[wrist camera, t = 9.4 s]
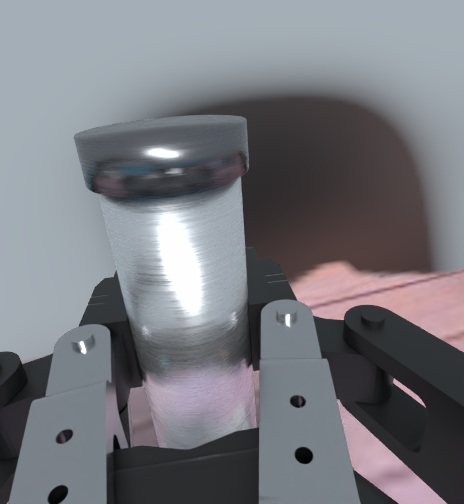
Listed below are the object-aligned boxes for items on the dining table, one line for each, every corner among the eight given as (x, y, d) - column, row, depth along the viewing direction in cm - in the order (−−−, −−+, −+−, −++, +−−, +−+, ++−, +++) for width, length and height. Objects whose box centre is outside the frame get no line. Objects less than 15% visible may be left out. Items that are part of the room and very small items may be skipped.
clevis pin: (143, 489, 13) (40, 137, 8) (210, 418, 15) (167, 114, 10) (221, 562, 11) (153, 146, 6) (284, 466, 13) (278, 115, 8)
